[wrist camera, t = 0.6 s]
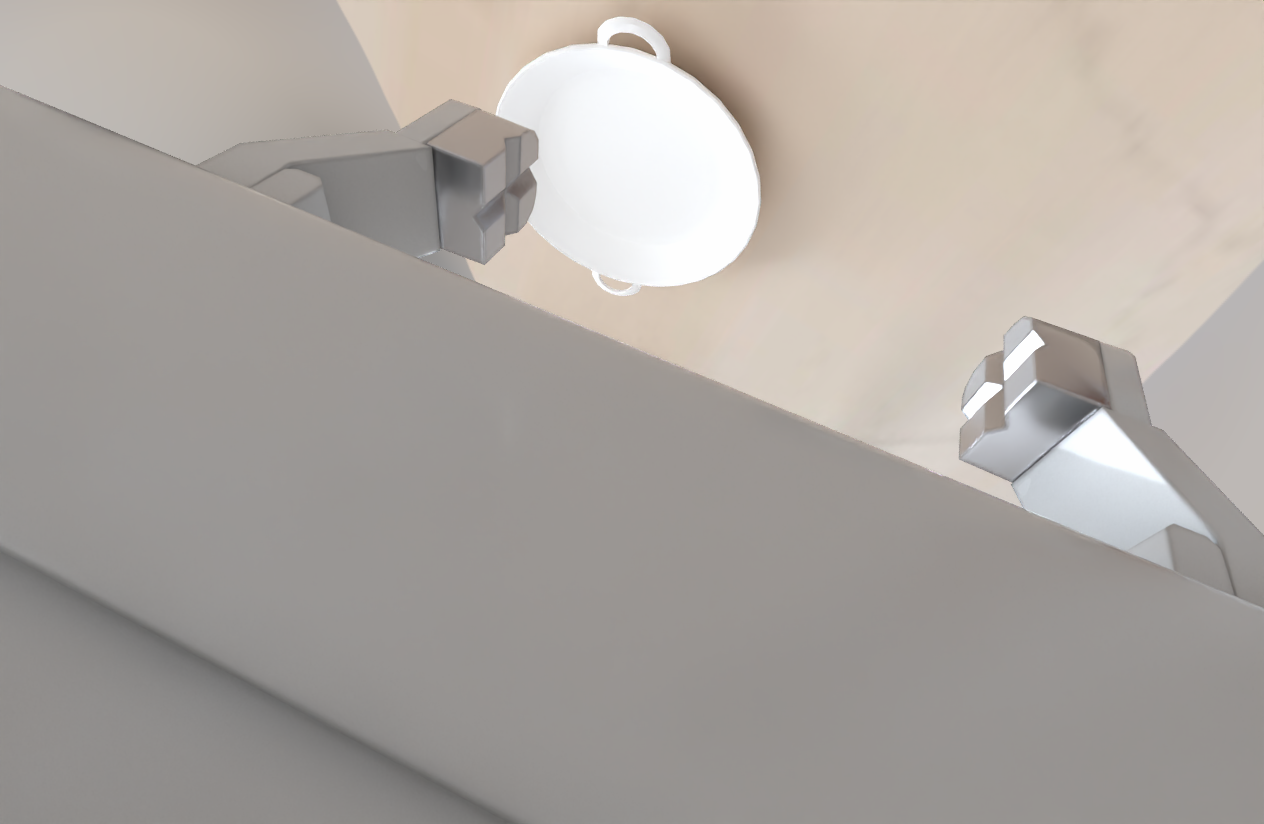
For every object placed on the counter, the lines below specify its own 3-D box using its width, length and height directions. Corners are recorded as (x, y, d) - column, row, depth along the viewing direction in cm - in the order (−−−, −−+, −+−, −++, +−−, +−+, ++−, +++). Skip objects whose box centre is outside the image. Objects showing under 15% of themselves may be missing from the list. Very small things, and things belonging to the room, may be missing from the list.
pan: (488, -49, 52) (465, -24, 50) (818, 36, 49) (809, 66, 47) (522, 240, 81) (508, 264, 79) (730, 303, 79) (722, 329, 76)
